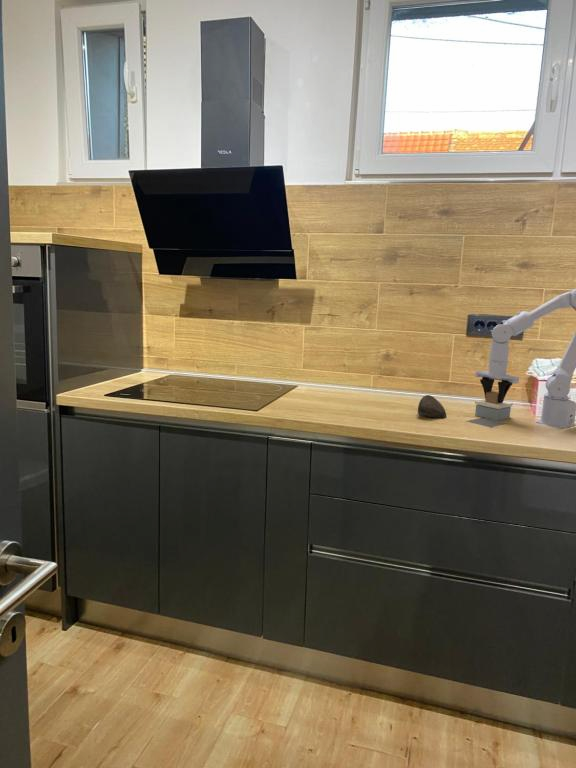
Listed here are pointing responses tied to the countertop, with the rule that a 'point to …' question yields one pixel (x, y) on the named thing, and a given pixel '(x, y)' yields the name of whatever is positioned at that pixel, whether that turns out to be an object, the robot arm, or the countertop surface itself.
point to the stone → (430, 408)
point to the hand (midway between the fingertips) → (494, 401)
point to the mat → (486, 422)
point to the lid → (493, 401)
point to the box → (492, 412)
